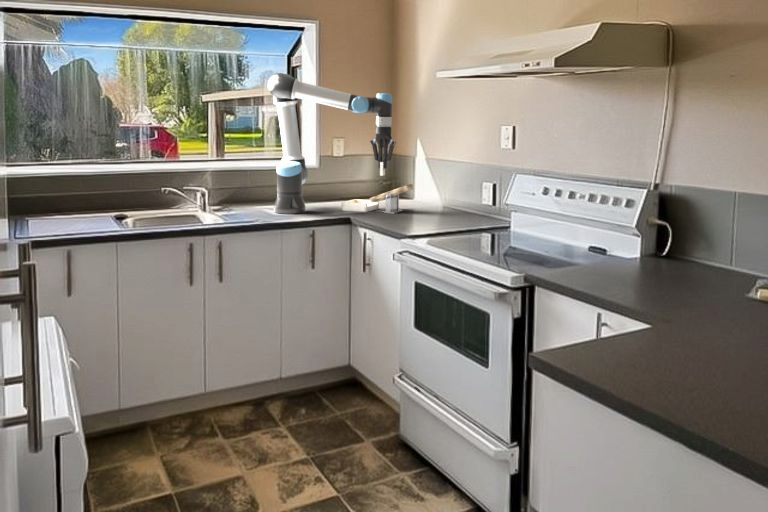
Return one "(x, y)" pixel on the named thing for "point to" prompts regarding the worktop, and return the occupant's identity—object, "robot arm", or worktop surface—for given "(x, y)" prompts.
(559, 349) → the worktop surface
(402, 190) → the lever
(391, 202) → the stand
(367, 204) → the dish
